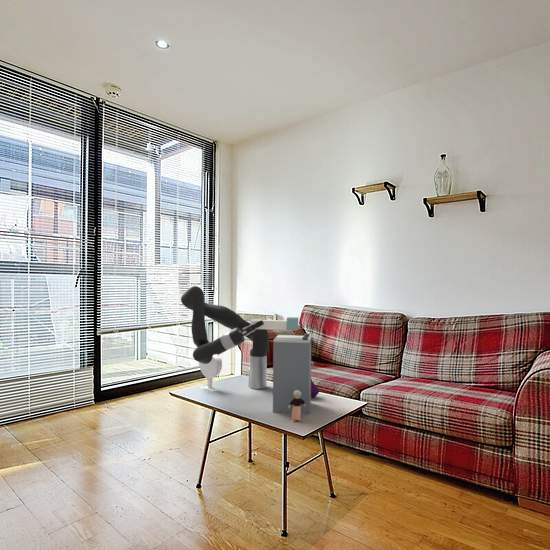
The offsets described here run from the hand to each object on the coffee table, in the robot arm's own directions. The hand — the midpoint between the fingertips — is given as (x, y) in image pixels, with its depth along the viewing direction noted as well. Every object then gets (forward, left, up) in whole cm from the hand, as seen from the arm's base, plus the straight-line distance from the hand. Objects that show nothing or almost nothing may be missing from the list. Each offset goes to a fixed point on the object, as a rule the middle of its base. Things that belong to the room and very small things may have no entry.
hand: (263, 321), depth 190 cm
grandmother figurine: (+25, -2, -39) cm, 47 cm away
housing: (+11, +9, -39) cm, 42 cm away
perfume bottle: (+5, +27, -39) cm, 48 cm away
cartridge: (+3, +3, -3) cm, 5 cm away
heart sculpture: (-41, -2, -39) cm, 57 cm away
